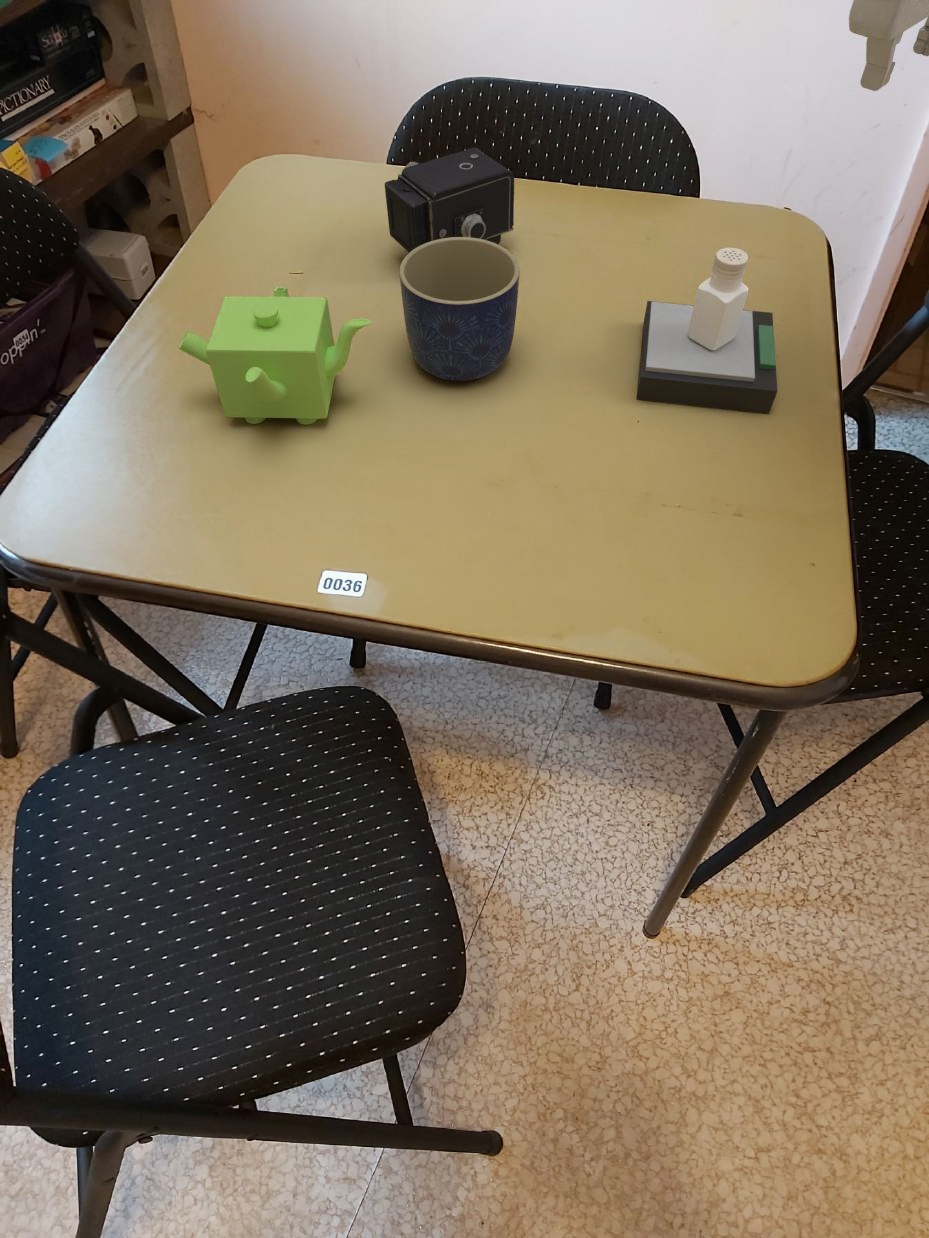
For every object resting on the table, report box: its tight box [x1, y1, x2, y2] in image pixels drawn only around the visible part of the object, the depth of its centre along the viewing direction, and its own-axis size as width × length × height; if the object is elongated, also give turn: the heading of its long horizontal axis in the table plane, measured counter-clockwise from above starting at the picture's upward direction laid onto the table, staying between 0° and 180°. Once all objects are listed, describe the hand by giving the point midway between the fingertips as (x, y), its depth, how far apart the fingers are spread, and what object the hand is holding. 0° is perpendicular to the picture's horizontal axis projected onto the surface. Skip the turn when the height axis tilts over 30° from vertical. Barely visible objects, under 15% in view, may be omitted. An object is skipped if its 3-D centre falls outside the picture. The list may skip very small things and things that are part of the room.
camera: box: [384, 147, 515, 254], centre depth 103 cm, size 11×11×15 cm
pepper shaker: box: [688, 247, 750, 350], centre depth 87 cm, size 4×4×10 cm
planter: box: [398, 237, 521, 382], centre depth 90 cm, size 12×12×11 cm
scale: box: [636, 300, 778, 415], centre depth 92 cm, size 14×14×4 cm
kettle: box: [178, 286, 372, 425], centre depth 86 cm, size 15×14×11 cm
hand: (899, 69), depth 71 cm, fingers open, 8 cm apart
